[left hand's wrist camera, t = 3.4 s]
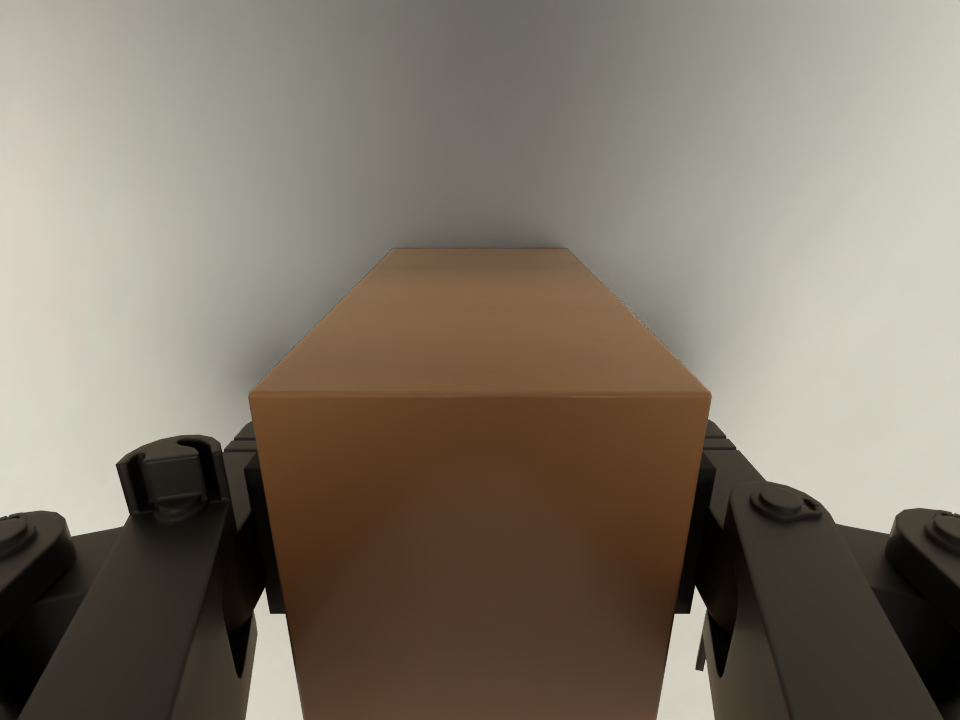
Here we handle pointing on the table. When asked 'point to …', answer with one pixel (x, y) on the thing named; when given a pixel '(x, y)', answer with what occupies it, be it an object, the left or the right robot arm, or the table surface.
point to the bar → (480, 493)
